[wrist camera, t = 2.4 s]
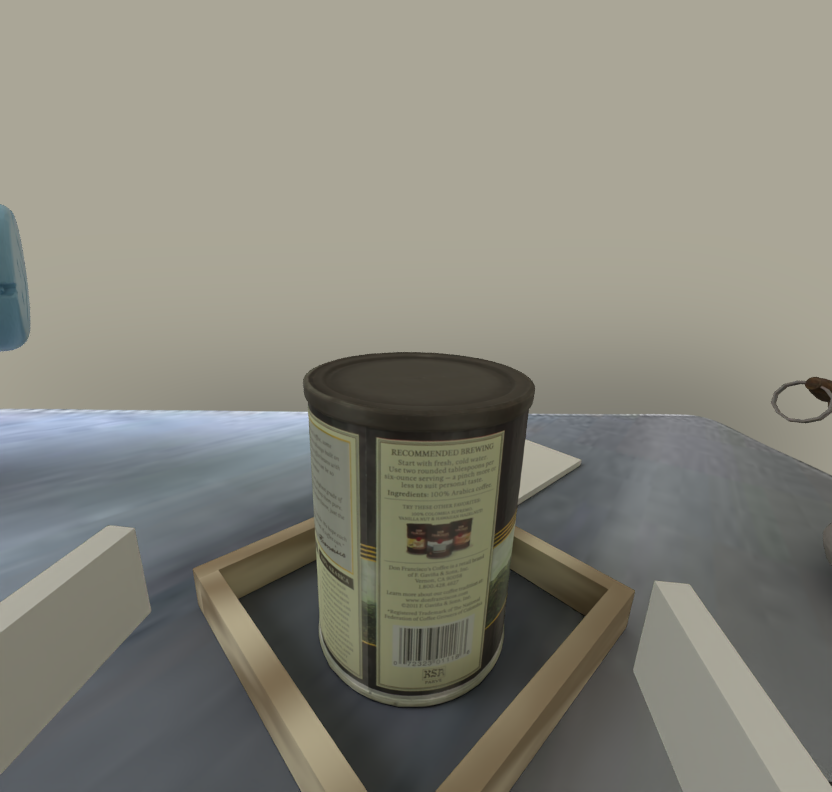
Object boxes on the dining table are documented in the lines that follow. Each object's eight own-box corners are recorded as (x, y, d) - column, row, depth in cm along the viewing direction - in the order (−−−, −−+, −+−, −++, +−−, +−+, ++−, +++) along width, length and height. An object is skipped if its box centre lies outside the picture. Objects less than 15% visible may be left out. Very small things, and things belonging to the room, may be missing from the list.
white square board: (370, 456, 42) (370, 450, 42) (465, 422, 52) (466, 417, 52) (489, 523, 32) (489, 516, 32) (580, 465, 42) (581, 459, 42)
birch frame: (198, 605, 24) (192, 568, 23) (416, 499, 35) (417, 473, 34) (391, 955, 12) (393, 904, 11) (626, 627, 23) (635, 590, 22)
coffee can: (426, 536, 30) (435, 344, 26) (543, 635, 22) (585, 384, 18) (287, 598, 24) (269, 362, 20) (381, 763, 16) (384, 434, 12)
